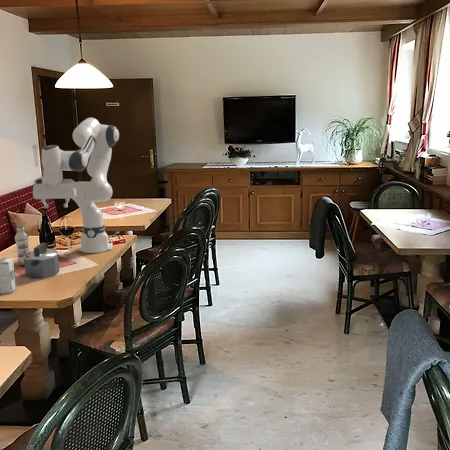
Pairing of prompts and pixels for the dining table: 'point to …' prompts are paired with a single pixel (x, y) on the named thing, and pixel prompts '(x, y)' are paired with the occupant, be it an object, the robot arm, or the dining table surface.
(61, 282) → the dining table surface
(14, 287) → the syrup box
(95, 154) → the robot arm
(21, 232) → the plastic bottle
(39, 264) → the pot
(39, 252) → the lid
